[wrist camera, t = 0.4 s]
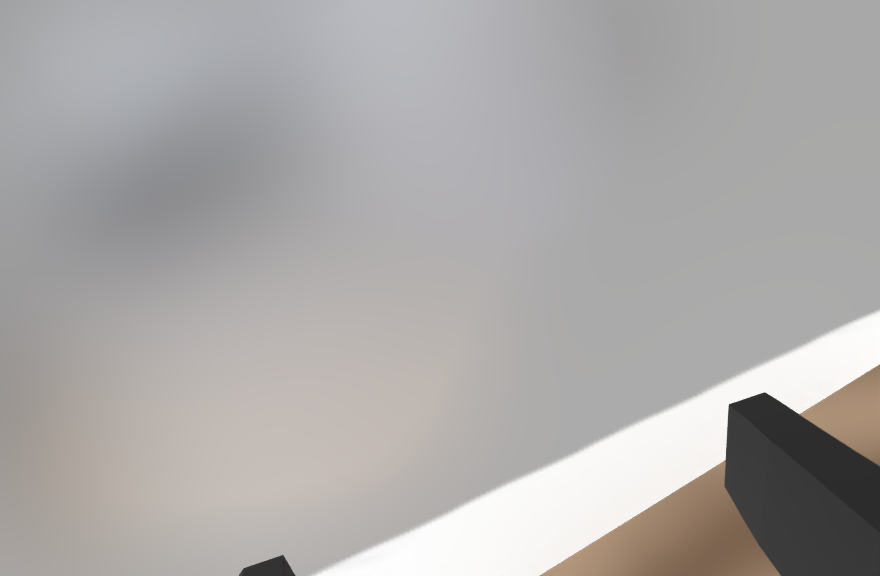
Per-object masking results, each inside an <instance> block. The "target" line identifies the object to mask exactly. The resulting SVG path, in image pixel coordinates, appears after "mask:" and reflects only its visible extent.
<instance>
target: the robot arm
mask: <svg viewBox="0 0 880 576" xmlns="http://www.w3.org/2000/svg"><path fill="white" fill-rule="evenodd" d="M724 486H725V488H726V490H727V492H728V493H729V495H730V497H731V499H732V500H733V502H734V504H735V506H736V508H737V509H738V511H739V513H740V515H741V516H742V518H743V520H744V521H745V523H746V525H747V527H748V528H749V530H750V532H751V533H752V535H753V537H754V538H755V540H756V542H757V543H758V545H759V546H760V548H761V549H762V550H763V552H764V553H765V555H766V556H767V557H768V559H769V560H770V561H771V563H772V564H773V566H774V567H775V568H776V570H777V571H778V572H779V574H780V575H781V576H880V466H879V465H877V464H876V463H874V462H872V461H871V460H869V459H868V458H866V457H864V456H863V455H861V454H860V453H858V452H856V451H855V450H853V449H852V448H850V447H849V446H847V445H846V444H844V443H842V442H841V441H839V440H838V439H836V438H835V437H833V436H832V435H830V434H828V433H827V432H825V431H824V430H822V429H821V428H819V427H818V426H816V425H815V424H813V423H812V422H810V421H809V420H807V419H805V418H804V417H802V416H801V415H799V414H798V413H796V412H795V411H793V410H792V409H790V408H789V407H787V406H786V405H784V404H783V403H781V402H780V401H778V400H776V399H775V398H773V397H772V396H770V395H768V394H767V393H765V392H764V393H761V394H758V395H755V396H752V397H750V398H747V399H744V400H741V401H738V402H735V403H732V404H729V410H728V428H727V447H726V465H725V483H724ZM239 576H295V574H294V573H293V571H292V569H291V568H290V566H289V564H288V562H287V561H286V559H285V557H284V556H283V555H282V556H279V557H276V558H273V559H270V560H267V561H264V562H261V563H258V564H255V565H252V566H249V567H246V568H244V569H243V570H242V572H241V573H240V574H239Z"/></svg>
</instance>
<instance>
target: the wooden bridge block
mask: <svg viewBox="0 0 880 576" xmlns="http://www.w3.org/2000/svg"><path fill="white" fill-rule="evenodd" d="M799 415H801V416H802V417H804V418H805V419H807V420H809V421H810V422H812V423H813V424H815V425H816V426H818V427H819V428H821V429H822V430H824V431H825V432H827V433H828V434H830V435H832V436H833V437H835V438H836V439H838V440H839V441H841V442H842V443H844V444H846V445H847V446H849V447H850V448H852V449H853V450H855V451H856V452H858V453H860V454H861V455H863V456H864V457H866V458H868V459H869V460H871V461H872V462H874V463H876V464H877V465H879V466H880V365H878V366H877V367H875V368H873V369H872V370H870V371H869V372H867V373H865V374H864V375H862V376H861V377H859V378H857V379H856V380H854V381H852V382H851V383H849V384H848V385H846V386H844V387H843V388H841V389H840V390H838V391H836V392H835V393H833V394H832V395H830V396H828V397H827V398H825V399H823V400H822V401H820V402H819V403H817V404H815V405H814V406H812V407H811V408H809V409H807V410H806V411H804V412H803V413H801V414H799ZM725 465H726V460H725V461H724V462H722V463H720V464H719V465H717V466H716V467H714V468H712V469H711V470H709V471H708V472H706V473H704V474H703V475H701V476H699V477H698V478H696V479H695V480H693V481H691V482H690V483H688V484H687V485H685V486H683V487H682V488H680V489H679V490H677V491H675V492H674V493H672V494H671V495H669V496H667V497H666V498H664V499H662V500H661V501H659V502H658V503H656V504H654V505H653V506H651V507H650V508H648V509H646V510H645V511H643V512H642V513H640V514H638V515H637V516H635V517H633V518H632V519H630V520H629V521H627V522H625V523H624V524H622V525H621V526H619V527H617V528H616V529H614V530H613V531H611V532H609V533H608V534H606V535H604V536H603V537H601V538H600V539H598V540H596V541H595V542H593V543H592V544H590V545H588V546H587V547H585V548H584V549H582V550H580V551H579V552H577V553H575V554H574V555H572V556H571V557H569V558H567V559H566V560H564V561H563V562H561V563H559V564H558V565H556V566H555V567H553V568H551V569H550V570H548V571H547V572H545V573H543V574H542V575H540V576H781V575H780V574H779V572H778V571H777V570H776V568H775V567H774V566H773V564H772V563H771V561H770V560H769V559H768V557H767V556H766V555H765V553H764V552H763V550H762V549H761V548H760V546H759V545H758V543H757V542H756V540H755V538H754V537H753V535H752V533H751V532H750V530H749V528H748V527H747V525H746V523H745V521H744V520H743V518H742V516H741V515H740V513H739V511H738V509H737V508H736V506H735V504H734V502H733V500H732V499H731V497H730V495H729V493H728V492H727V490H726V488H725V486H724V483H725Z"/></svg>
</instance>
